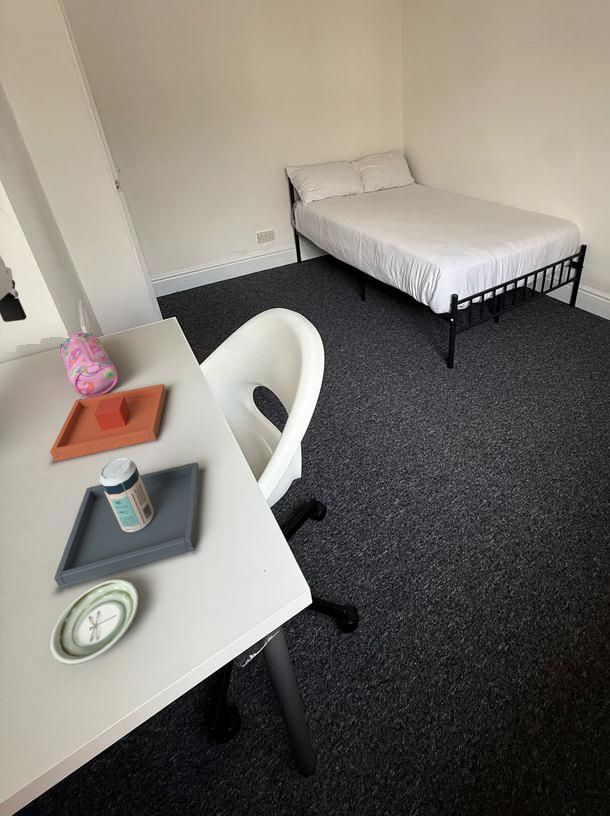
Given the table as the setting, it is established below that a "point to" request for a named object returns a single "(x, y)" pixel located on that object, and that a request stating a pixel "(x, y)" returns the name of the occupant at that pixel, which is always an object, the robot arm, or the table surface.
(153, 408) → the terracotta tray
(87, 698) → the table surface
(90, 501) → the grey tray
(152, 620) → the table surface
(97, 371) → the pencil case
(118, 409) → the red block
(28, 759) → the table surface
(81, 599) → the saucer
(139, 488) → the beer can
